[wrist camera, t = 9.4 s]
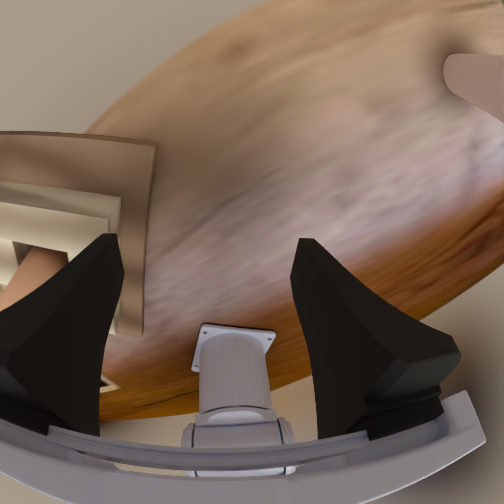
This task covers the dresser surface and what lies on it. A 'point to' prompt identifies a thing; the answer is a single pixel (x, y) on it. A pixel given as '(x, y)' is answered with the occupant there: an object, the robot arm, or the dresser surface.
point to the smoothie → (477, 80)
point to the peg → (33, 273)
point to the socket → (77, 204)
